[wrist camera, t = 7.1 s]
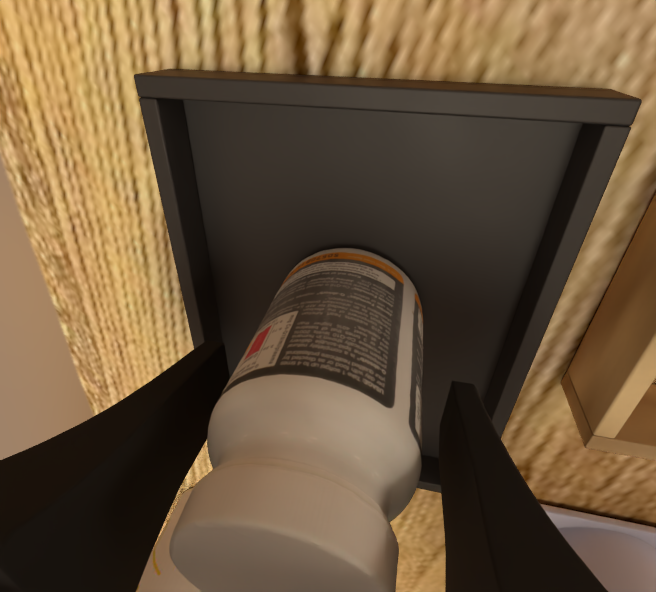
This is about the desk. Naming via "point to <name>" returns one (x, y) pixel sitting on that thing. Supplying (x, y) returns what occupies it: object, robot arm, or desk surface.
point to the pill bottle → (313, 438)
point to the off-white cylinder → (166, 560)
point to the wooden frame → (620, 357)
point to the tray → (385, 205)
